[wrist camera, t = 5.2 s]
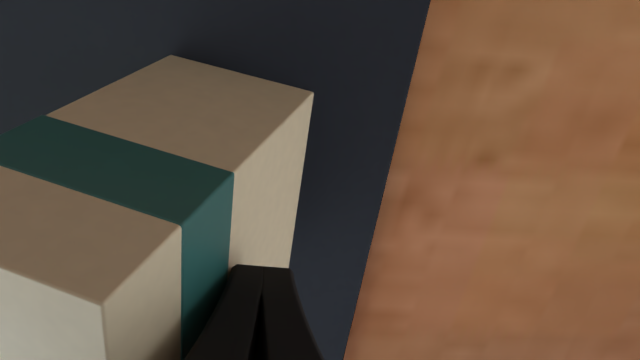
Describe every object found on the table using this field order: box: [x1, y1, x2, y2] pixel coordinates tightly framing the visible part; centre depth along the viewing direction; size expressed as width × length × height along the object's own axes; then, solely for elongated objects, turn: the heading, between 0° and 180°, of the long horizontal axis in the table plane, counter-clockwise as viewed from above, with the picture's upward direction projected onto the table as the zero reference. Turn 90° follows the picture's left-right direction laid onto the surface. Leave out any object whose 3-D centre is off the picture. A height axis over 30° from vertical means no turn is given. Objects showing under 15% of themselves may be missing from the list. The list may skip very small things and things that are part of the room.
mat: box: [0, 0, 430, 360], centre depth 18 cm, size 17×20×1 cm
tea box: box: [0, 55, 314, 360], centre depth 13 cm, size 5×7×9 cm, turn 172°
